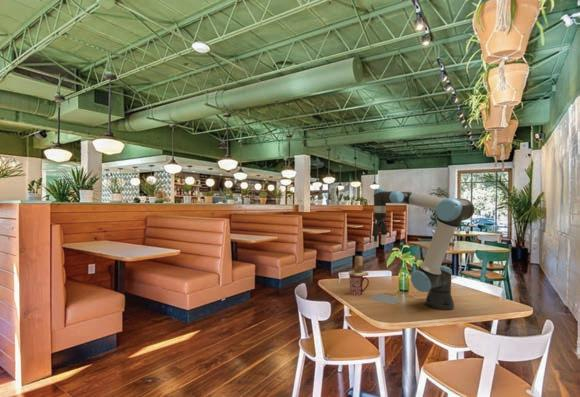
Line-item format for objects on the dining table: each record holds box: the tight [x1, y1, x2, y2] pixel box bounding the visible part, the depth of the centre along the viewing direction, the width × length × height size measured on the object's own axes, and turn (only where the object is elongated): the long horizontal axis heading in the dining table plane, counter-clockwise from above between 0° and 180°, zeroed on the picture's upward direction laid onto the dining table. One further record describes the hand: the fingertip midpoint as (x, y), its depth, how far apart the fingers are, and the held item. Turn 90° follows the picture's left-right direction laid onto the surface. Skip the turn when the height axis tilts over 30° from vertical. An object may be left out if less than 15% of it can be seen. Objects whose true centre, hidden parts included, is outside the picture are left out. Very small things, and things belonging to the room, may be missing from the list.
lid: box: [348, 255, 369, 277], centre depth 204 cm, size 12×12×11 cm
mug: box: [348, 273, 370, 297], centre depth 203 cm, size 13×9×14 cm
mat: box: [368, 292, 404, 305], centre depth 195 cm, size 16×16×1 cm
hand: (379, 245), depth 206 cm, fingers open, 13 cm apart
